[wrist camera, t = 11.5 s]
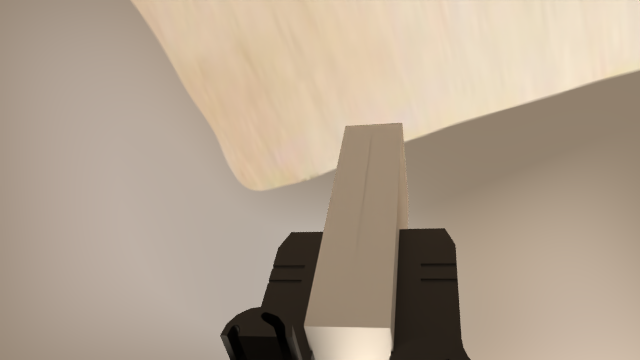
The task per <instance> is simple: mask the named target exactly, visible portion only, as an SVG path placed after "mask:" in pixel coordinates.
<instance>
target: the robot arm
mask: <svg viewBox="0 0 640 360" xmlns="http://www.w3.org/2000/svg"><path fill="white" fill-rule="evenodd" d="M408 209H409V201H408V188H407V178H406V164H405V151H404V139H403V127H402V123H391V124H374V125H357V126H346V127H345V131H344V136H343V141H342V146H341V150H340V155H339V160H338V165H337V170H336V174H335V179H334V184H333V189H332V194H331V198H330V203H329V208H328V213H327V218H326V223H325V227H324V232H291V233H290V235H289V236H288V237H287V238H286V239H285V241H284V242H283V243H282V244H281V246H280V247H279V248H278V251H277V254H276V258H275V261H274V265H273V269H272V271H271V275H270V278H269V283H268V285H267V289H266V292H265V295H264V299H263V302H262V306H261V307H258V308H251V309H249V310H246V311H244V312H242V313H240V314H238V315H236V316H235V317H234V318H233V319H232V320H231V321H230V322H229V323H227V325H226V326H225V328H224V330H223V331H222V333H221V335H220V336H221V339H222V341H223V343H224V346H225V348H226V351H227V353H228V355H229V358H230V360H470V358H469V357H468V356H467V354H466V352H465V350H464V348H463V344H462V339H461V326H460V310H459V296H458V295H459V294H458V280H457V265H456V248H455V244H454V242H453V240H452V239H451V237H450V236H449V234H448V233H447V231H446V230H445V229H444V228H443V229H442V228H441V229H408Z"/></svg>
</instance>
